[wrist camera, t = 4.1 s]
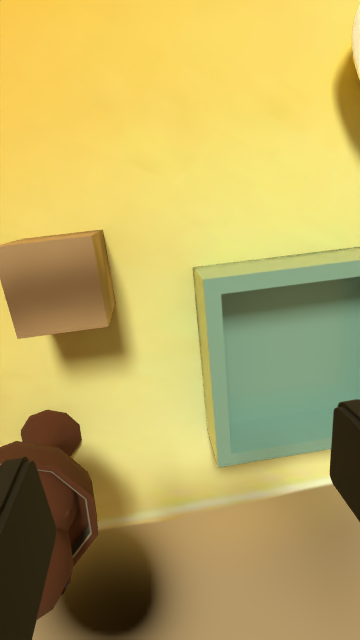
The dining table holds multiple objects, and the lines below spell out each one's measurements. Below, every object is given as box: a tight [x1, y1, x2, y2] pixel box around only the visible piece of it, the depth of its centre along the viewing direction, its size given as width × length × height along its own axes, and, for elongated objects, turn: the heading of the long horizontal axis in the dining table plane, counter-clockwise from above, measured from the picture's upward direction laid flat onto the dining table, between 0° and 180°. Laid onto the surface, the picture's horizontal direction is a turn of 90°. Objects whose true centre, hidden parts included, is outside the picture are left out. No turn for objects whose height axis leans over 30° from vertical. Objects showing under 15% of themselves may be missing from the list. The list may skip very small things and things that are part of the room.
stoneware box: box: [193, 247, 360, 468], centre depth 28 cm, size 16×16×5 cm
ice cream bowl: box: [0, 410, 98, 619], centre depth 24 cm, size 11×11×15 cm
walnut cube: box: [0, 230, 115, 339], centre depth 24 cm, size 6×6×6 cm
